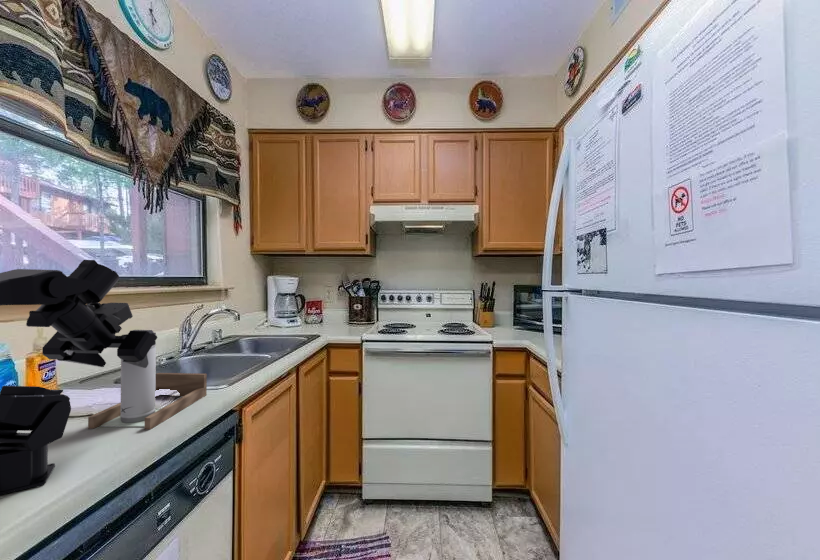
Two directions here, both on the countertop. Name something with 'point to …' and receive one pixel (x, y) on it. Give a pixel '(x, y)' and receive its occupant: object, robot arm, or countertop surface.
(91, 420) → the shelf lane
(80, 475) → the countertop surface
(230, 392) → the countertop surface
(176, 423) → the countertop surface
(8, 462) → the robot arm
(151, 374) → the travel mug
